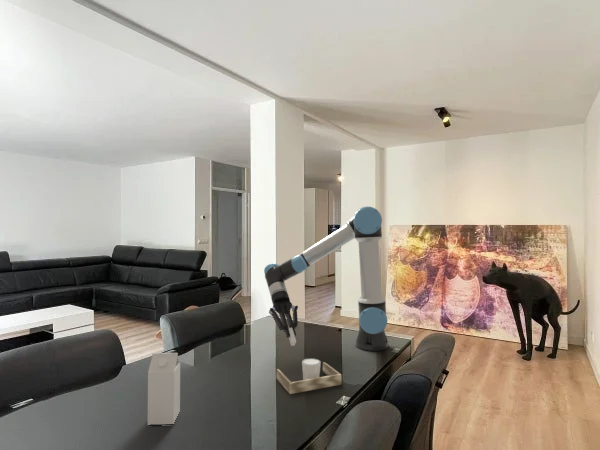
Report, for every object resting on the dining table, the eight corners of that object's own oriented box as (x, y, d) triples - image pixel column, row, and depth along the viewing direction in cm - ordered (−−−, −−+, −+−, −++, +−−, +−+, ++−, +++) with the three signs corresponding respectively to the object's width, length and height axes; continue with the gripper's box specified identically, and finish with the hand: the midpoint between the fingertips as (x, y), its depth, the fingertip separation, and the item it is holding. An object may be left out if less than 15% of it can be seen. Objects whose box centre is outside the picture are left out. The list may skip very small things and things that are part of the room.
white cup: (321, 384, 128) (321, 364, 128) (302, 385, 128) (302, 365, 128) (319, 376, 135) (319, 357, 135) (301, 377, 135) (301, 358, 135)
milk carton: (155, 413, 108) (156, 349, 108) (180, 412, 108) (180, 348, 108) (147, 426, 101) (148, 357, 101) (173, 425, 101) (174, 357, 101)
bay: (324, 370, 141) (324, 361, 141) (341, 384, 128) (341, 374, 128) (276, 378, 133) (276, 369, 133) (289, 394, 121) (289, 383, 121)
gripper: (290, 298, 164) (306, 346, 149) (263, 301, 159) (276, 351, 143) (295, 288, 159) (311, 337, 144) (266, 290, 154) (280, 341, 139)
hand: (293, 344), depth 144 cm, fingers closed
